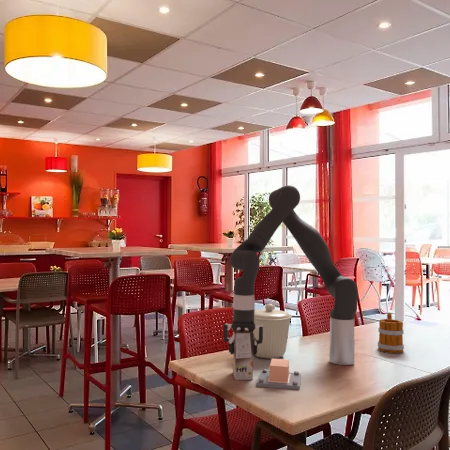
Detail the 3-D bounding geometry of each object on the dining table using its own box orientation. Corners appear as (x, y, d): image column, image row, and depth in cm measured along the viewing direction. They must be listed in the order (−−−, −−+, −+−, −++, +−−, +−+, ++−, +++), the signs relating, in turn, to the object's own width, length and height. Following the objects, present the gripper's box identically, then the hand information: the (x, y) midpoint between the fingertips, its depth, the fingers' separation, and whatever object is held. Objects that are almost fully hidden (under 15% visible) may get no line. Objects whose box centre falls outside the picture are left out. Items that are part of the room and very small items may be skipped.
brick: (288, 374, 168) (289, 359, 168) (287, 382, 160) (287, 366, 160) (271, 372, 170) (271, 358, 170) (269, 380, 161) (269, 365, 161)
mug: (378, 352, 206) (379, 317, 206) (375, 344, 222) (376, 311, 222) (405, 354, 203) (406, 319, 203) (400, 345, 219) (401, 312, 219)
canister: (238, 352, 201) (239, 301, 202) (274, 348, 210) (275, 299, 210) (261, 364, 185) (262, 308, 185) (299, 358, 194) (300, 305, 194)
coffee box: (253, 380, 166) (254, 332, 166) (234, 380, 165) (235, 332, 165) (249, 372, 175) (250, 327, 175) (232, 372, 174) (233, 327, 174)
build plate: (300, 376, 170) (300, 371, 170) (299, 389, 156) (299, 383, 156) (260, 373, 173) (261, 368, 173) (256, 386, 159) (256, 380, 159)
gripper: (265, 306, 172) (264, 353, 172) (225, 304, 175) (224, 350, 175) (263, 310, 165) (262, 358, 165) (221, 308, 168) (220, 356, 168)
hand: (242, 354), depth 170 cm, fingers closed on coffee box, 7 cm apart
